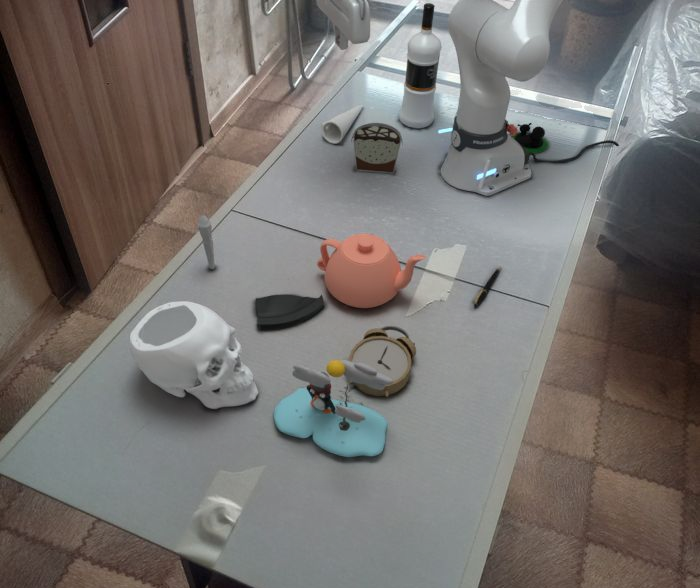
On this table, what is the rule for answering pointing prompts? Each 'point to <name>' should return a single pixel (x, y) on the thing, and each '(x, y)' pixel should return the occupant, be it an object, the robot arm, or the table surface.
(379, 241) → the teapot
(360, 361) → the alarm clock
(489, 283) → the fountain pen
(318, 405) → the penguin figurine
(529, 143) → the toy figurine
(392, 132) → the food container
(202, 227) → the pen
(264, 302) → the dark sector wedge
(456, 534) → the table surface
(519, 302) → the table surface
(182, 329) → the skull planter
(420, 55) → the vodka
